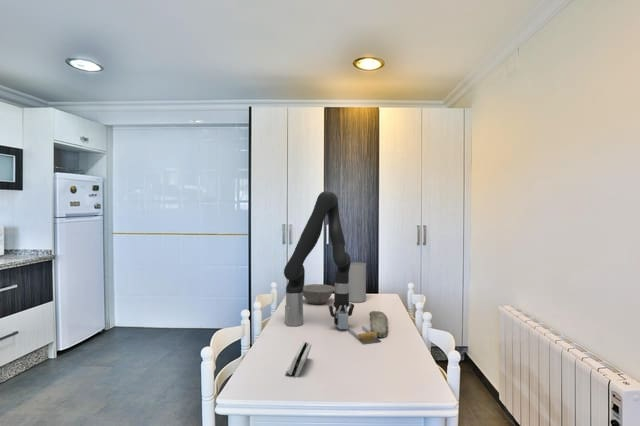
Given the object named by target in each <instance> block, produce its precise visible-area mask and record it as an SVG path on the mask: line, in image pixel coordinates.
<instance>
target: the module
mask: <svg viewBox="0 0 640 426" xmlns="http://www.w3.org/2000/svg"><path fill="white" fill-rule="evenodd" d="M333 312H334V313H335V310H333ZM333 324H334V325H335V323H334V322H333ZM335 327H337V328H338V329H339V330H346V329H347V330H348V328H349V316H348V314H347V313H345V312H343V311H341V312H340V313H339V314H338V325H335Z"/></svg>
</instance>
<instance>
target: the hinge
mask: <svg viewBox="0 0 640 426" xmlns="http://www.w3.org/2000/svg"><path fill="white" fill-rule="evenodd" d="M312 346H313V345H312V344H311V343H310V342H309V343H308V342H307V341H304V340H303V341H302V342H301V344H300V345H299V347H298V349H297V350H296V353H295V355H294V358H293V359H292V361H291V362H290V364H289V366H288V367H287V369H286V371H285V373H284V376H285V377H287V375H289V376H291V375H293V376H294V377H295V378H299V375H300V373H301V372H302V369H303V368H304V365H305V364H306V361H307V359H308V357H309V353H310V351H311V348H312Z"/></svg>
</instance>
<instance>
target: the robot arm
mask: <svg viewBox="0 0 640 426" xmlns="http://www.w3.org/2000/svg"><path fill="white" fill-rule="evenodd" d="M338 200H339V199H338V196H337V195H336V194H335V193H334V192H332V191H328V190H326V191H321V192H320V193H319V194H318V196H317V198H316V202H315V205H314V207H313V209H312V211H311V215H310V216H309V218H308V220H307V222H306V224H305V226H304V228H303V230H302V233H301V235H300V237H299V239H298V241H297V243H296V247H295V248H294V251H293V253H292V255H291V256H290V258H289V260H288V262H287V263H286V264H285V266H284V268H283V275H284V278H285V279H286V280H287V281H288V282H287V285H286V286H285V304H284V324H285V325H286V326H287V327H298V326H302V325H304V296H303V287H304V286H305V279H306V278H305V276H306V275H305V271H306V270H305V267H304V263H305V260H306V259H307V257H308V256H309V254H311V252H312V251H313V250H314V248H315V247H316V245H317V243H318V242H319V239H320V237H321V235H322V230H323V225H324V221H325V219H326V216H327V220H328V232H329V233H328V234H329V239H330V243H331V247H332V259H333V263H334V265H336V266H337V267H336V268H337V269H336V271H335V277H334V286H333V287H334V291H333V295H334V297H333V304H331V305H330V304H328V305H327V306H328V307H327V308H328V310H329V314H330V317H332V318H333V324H334V323H335V324H334V326H336V325H338V314H339V313H340V312H341V311H343V312H345V313H347V314H348V317H351V316H353V311H354V308H355V304H354V303H353V302H350V301H349V270H350V263H352V262H351V256H350V254H349V253H348V252H346V249H345V247H346V240H345V237H344V236H345V235H344V232H343V227H342V224H341V219H340V212H339V201H338ZM334 308H335V309H334ZM334 311H335V313H334Z"/></svg>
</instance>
